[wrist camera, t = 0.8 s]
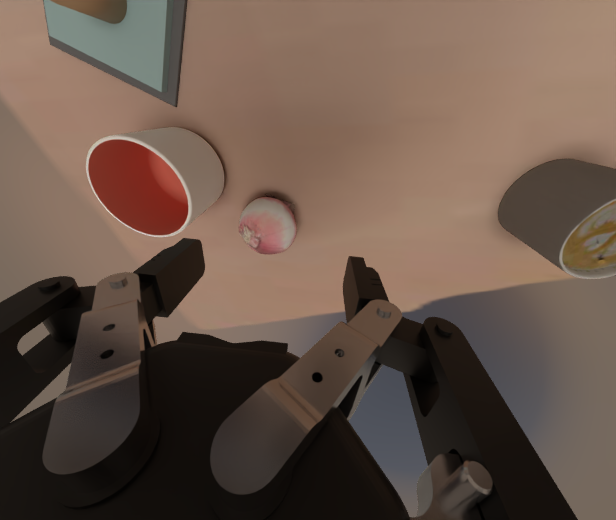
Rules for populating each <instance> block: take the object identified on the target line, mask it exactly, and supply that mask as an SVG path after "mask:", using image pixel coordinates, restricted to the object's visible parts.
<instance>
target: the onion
mask: <svg viewBox="0 0 616 520" xmlns="http://www.w3.org/2000/svg"><path fill="white" fill-rule="evenodd" d="M265 195H266V197H261V198H257V199H255V200H253V201H252V202H251V203H249V204H248V205H247V206H246V208H245V209H244V210H243V212H242V214H241V217H240V221H239V233H240V235H241V236H242V238H243V240H244V241H245V242H246V243H247V245H248V246H249V247H250V248H251V249H253V250H254V251H256V252H258V253H261V254H277V253H281V252H283V251H285V250H287V249H288V248H289V247H290V246H291V244H292V243H293V241H294V239H295V237H296V233H297V226H296V222H295V218H294V216H293V212H294V204H292V203H290V202H287V201H284V200H278V199H277V198H276V197H274V196H272V195H268V194H265ZM282 201H283V202H282Z"/></svg>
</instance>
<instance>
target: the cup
mask: <svg viewBox="0 0 616 520" xmlns="http://www.w3.org/2000/svg"><path fill="white" fill-rule="evenodd" d="M86 171H87V176H88V180H89V183H90V185H91V188H92V190H93V192H94V193H95V195H96V197H97V198H98V200H99V201H100V203H101V204H102V205H103V206H104V207H105V209H106V210H107V211H108V212H109V213H110V214H111V215H112V216H113V217H115V218H116V219H117V220H118V221H120V222H121V223H122V224H124V225H125V226H127V227H129V228H131V229H132V230H134V231H137V232H139V233H142V234H145V235H148V236H153V237H169V236H173V235H176V234H178V233H180V232H181V231H182V230H184V229H185V228H186V227H187V226H188V225H189V224H190V223H192V222H193V221H194V220H195V219H196V218H197V217H199V216H200V215H201V214H202V213H203V212H204V211H206V210H207V209H208V208H209V207H210V206H211V205H212V204H214V203H215V202H216V201H217V200H218V198H219V197H220V195H221V193H222V191H223V188H224V171H223V167H222V164H221V161H220V159H219V157H218V156H217V154H216V152H215V151H214V149H213V148H212V147H211V146H210V145H209V144H208V143H207V142H206V141H205V140H204V139H203V138H201V137H200V136H199V135H197V134H195V133H194V132H191V131H189V130H187V129H183V128H179V127H166V128H159V129H152V130H145V131H138V132H132V133H125V134H118V135H111V136H107V137H104V138H101V139H100V140H98V141H97V142H95V143H94V144H93V145H92V147H91V148H90V150H89V152H88V155H87V159H86Z"/></svg>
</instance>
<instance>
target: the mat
mask: <svg viewBox="0 0 616 520" xmlns="http://www.w3.org/2000/svg"><path fill="white" fill-rule="evenodd" d="M43 3H44V0H43ZM186 7H187V0H174V1H173V15H172V29H171V43H170V56H169V70H168V84H167V92H160V91H158V90H156V89H154V88H152V87H150V86H149V85H147V84H145V83H143V82H141V81H139V80H137V79H135V78H133V77H131V76H129V75H127V74H125V73H123V72H121V71H119V70H117V69H115V68H113V67H111V66H109V65H107V64H105V63H103V62H101V61H99V60H97V59H95V58H93V57H91V56H89V55H87V54H85V53H83V52H81V51H79V50H77V49H75V48H73V47H71V46H69V45H67V44H65V43H63V42H61V41H59V40H57V39H55V38H53V37H51V36H49V41H50V45H52V46H54V47H56V48H58V49H60V50H62V51H64V52H66V53H68V54H70V55H72V56H74V57H76V58H78V59H80V60H82V61H84V62H86V63H88V64H90V65H92V66H94V67H96V68H98V69H100V70H102V71H104V72H106V73H108V74H110V75H112V76H114V77H116V78H118V79H120V80H122V81H124V82H126V83H128V84H131V85H133V86H135V87H137V88H139V89H141V90H143V91H145V92H147V93H149V94H151V95H153V96H155V97H157V98H159V99H161V100H163V101H165V102H167V103H169V104H171V105H173V106H175V107H177V101H178V90H179V80H180V69H181V59H182V49H183V38H184V28H185V17H186ZM44 9H45V6H44ZM45 15H46V12H45ZM46 22H47V18H46ZM47 28H48V25H47ZM48 34H49V31H48Z"/></svg>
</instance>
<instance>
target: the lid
mask: <svg viewBox="0 0 616 520" xmlns="http://www.w3.org/2000/svg"><path fill="white" fill-rule="evenodd" d="M173 1H174V0H44V6H45V12H46V18H47V25H48V31H49V36H51V37H53V38H55V39H57V40H59V41H61V42H63V43H65V44H67V45H69V46H71V47H73V48H75V49H77V50H79V51H81V52H83V53H85V54H87V55H89V56H91V57H93V58H95V59H97V60H99V61H101V62H103V63H105V64H107V65H109V66H111V67H113V68H115V69H117V70H119V71H121V72H123V73H125V74H127V75H129V76H131V77H133V78H135V79H137V80H139V81H141V82H143V83H145V84H147V85H149V86H150V87H152V88H154V89H156V90H158V91H160V92H167V84H168V70H169V56H170V43H171V29H172V15H173Z"/></svg>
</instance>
